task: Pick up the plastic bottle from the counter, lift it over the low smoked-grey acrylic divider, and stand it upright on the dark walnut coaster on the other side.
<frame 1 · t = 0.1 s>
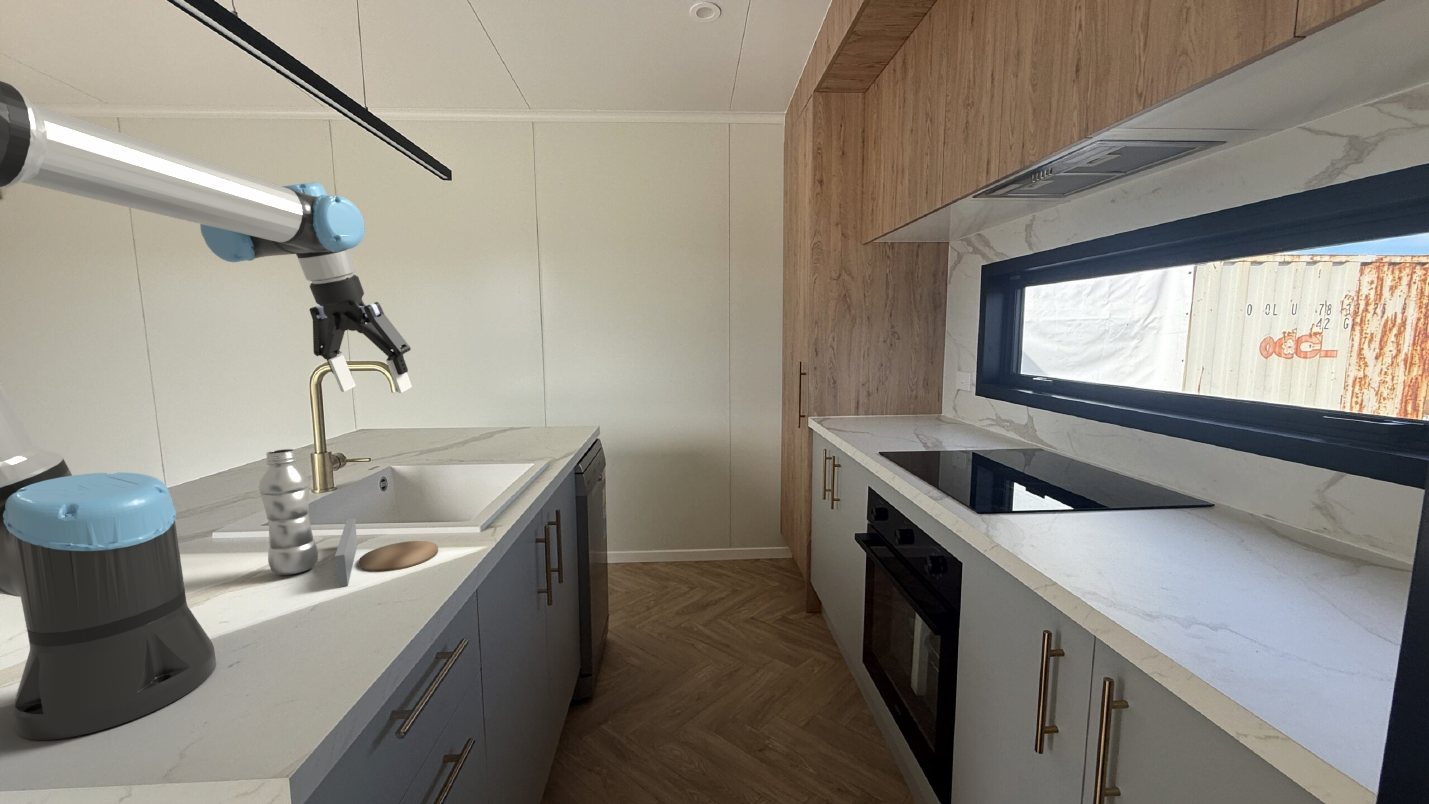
hand: (376, 389, 109), 28 cm above the countertop, tool tilted 20°, fingers open, 13 cm apart
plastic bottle: (295, 572, 94), on the countertop
walnut coaster: (399, 556, 99), on the countertop
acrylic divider: (348, 564, 97), on the countertop
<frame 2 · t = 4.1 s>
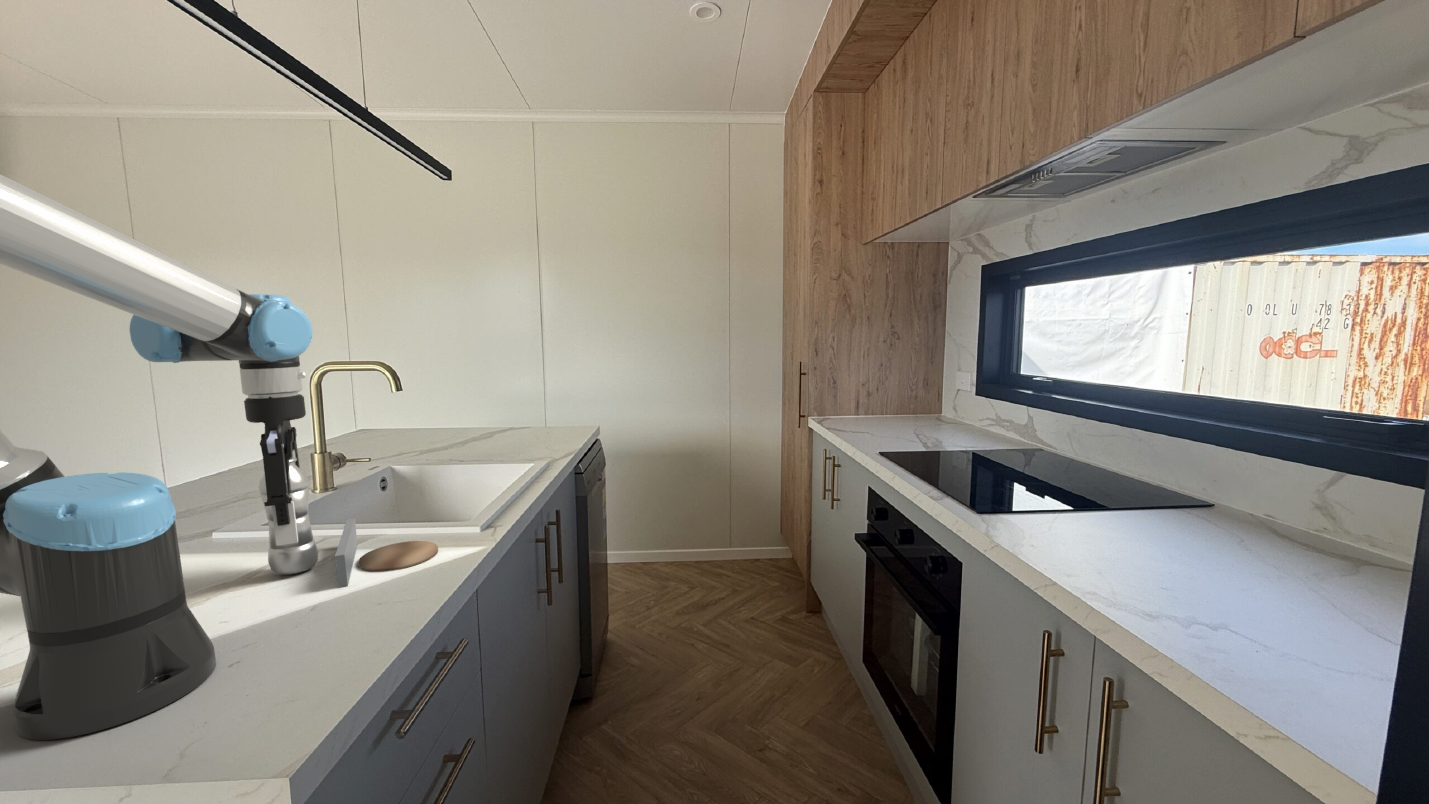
hand: (291, 536, 93), 6 cm above the countertop, tool pointing down, fingers closed on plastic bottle, 6 cm apart
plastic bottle: (295, 572, 94), on the countertop, touching gripper
when the fingers open (8 cm above the countertop, at t = 9.9 s): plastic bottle drops 1 cm, resting on walnut coaster.
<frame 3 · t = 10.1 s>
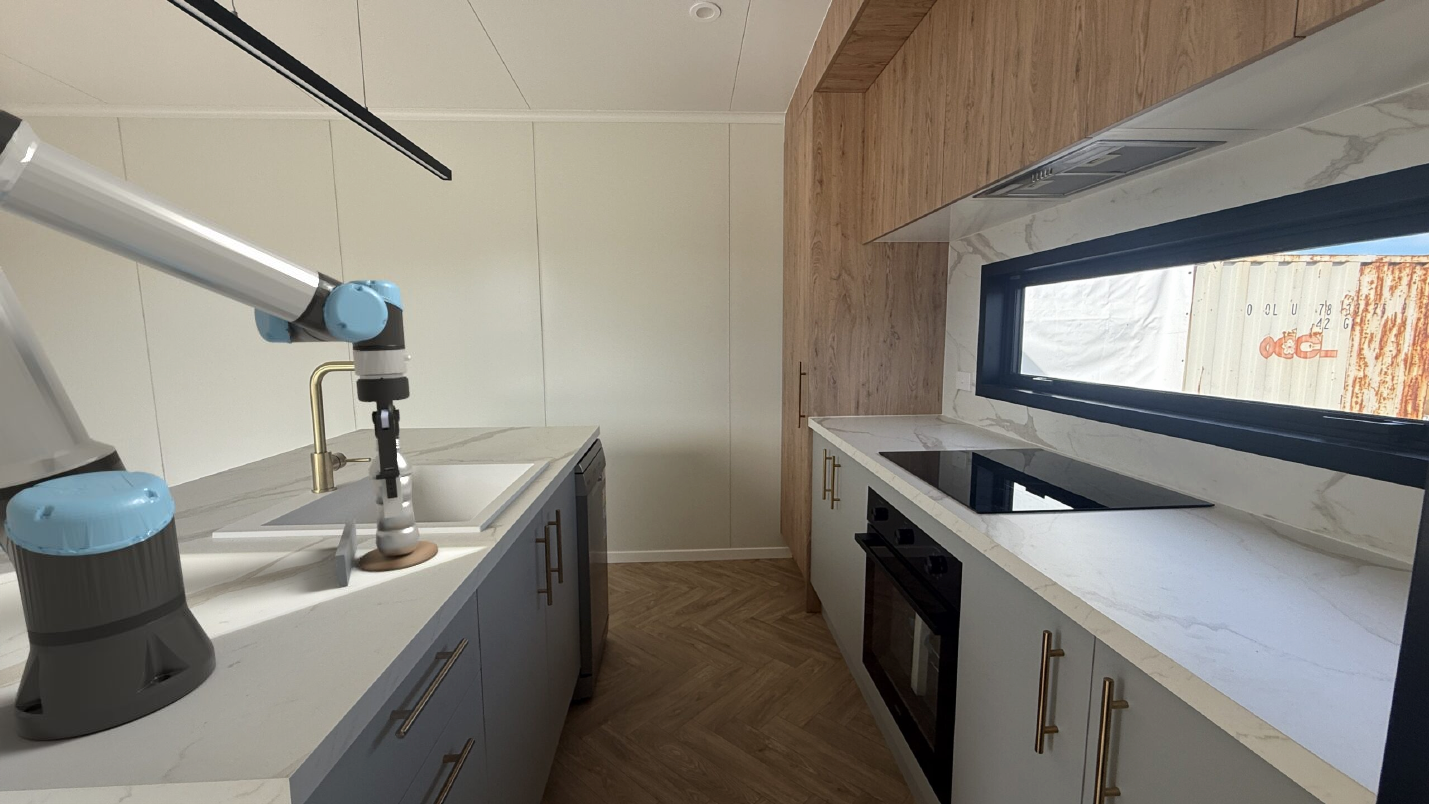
hand: (394, 508, 98), 9 cm above the countertop, tool pointing down, fingers open, 9 cm apart
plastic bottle: (399, 554, 99), resting on walnut coaster
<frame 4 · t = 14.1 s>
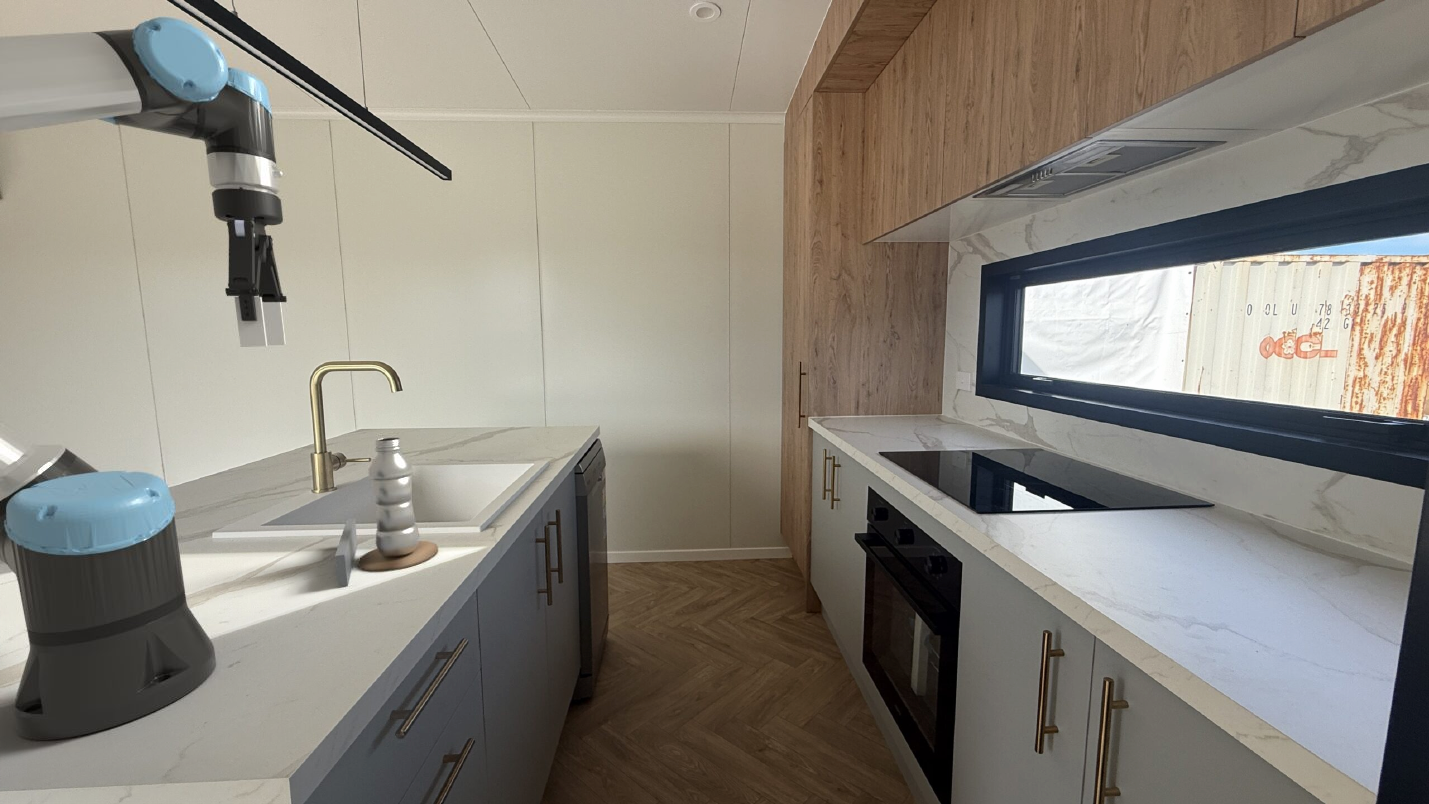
hand: (265, 346, 83), 37 cm above the countertop, tool pointing down, fingers open, 13 cm apart
nothing on the countertop moved.
at the end: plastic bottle inside the target area on the walnut coaster (0.2 cm from its centre), point 0.4 cm above the walnut coaster's base; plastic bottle tilted 0°; the gripper is holding nothing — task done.
